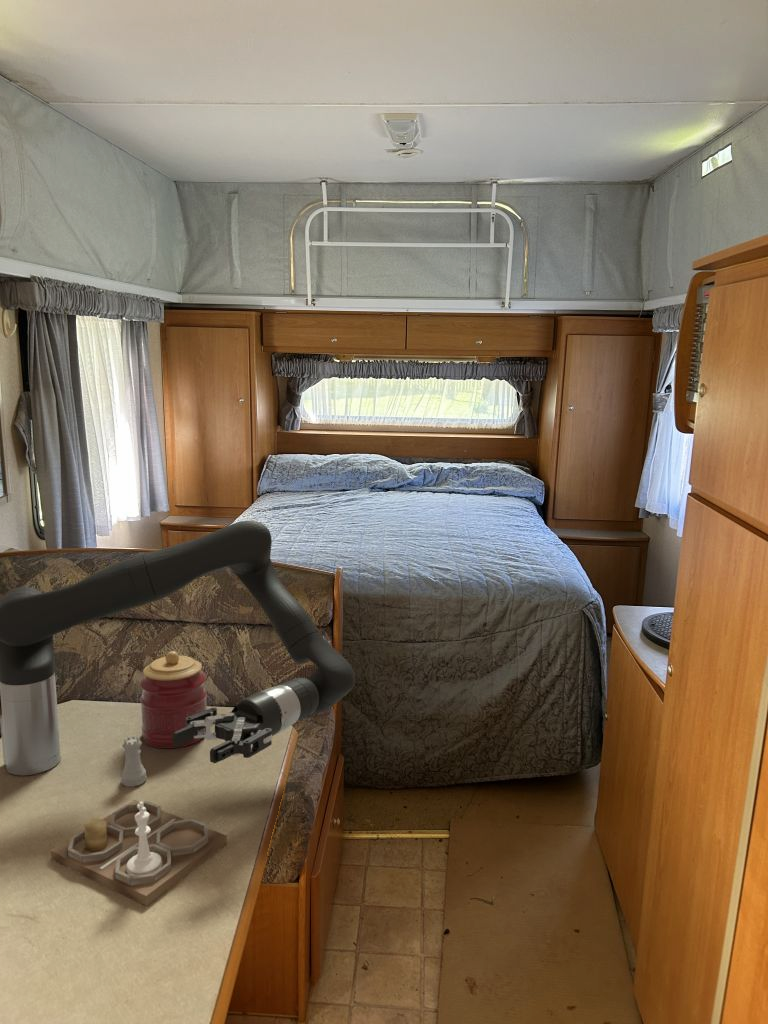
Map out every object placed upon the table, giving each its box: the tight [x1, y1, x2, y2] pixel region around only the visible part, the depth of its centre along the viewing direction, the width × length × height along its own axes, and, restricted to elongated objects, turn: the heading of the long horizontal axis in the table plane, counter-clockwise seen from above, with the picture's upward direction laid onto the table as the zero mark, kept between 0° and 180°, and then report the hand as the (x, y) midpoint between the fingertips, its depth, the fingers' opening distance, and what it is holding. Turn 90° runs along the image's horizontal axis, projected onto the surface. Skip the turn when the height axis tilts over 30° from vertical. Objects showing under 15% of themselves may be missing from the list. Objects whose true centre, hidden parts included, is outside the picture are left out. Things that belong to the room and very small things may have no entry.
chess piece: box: [126, 801, 162, 877], centre depth 106 cm, size 5×5×10 cm
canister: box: [139, 650, 208, 749], centre depth 149 cm, size 13×13×18 cm
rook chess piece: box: [120, 735, 148, 788], centre depth 132 cm, size 4×4×8 cm
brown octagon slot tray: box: [49, 799, 228, 907], centre depth 112 cm, size 20×16×5 cm
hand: (192, 748), depth 112 cm, fingers open, 8 cm apart
